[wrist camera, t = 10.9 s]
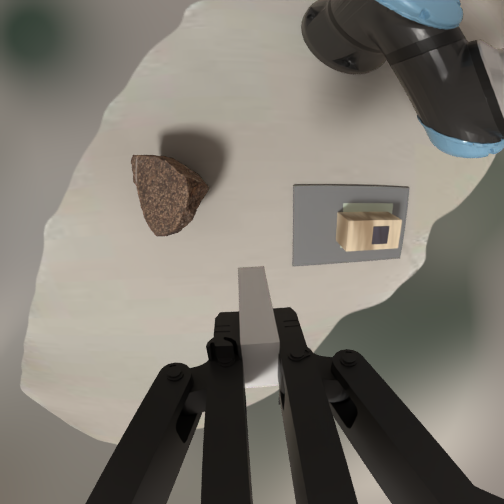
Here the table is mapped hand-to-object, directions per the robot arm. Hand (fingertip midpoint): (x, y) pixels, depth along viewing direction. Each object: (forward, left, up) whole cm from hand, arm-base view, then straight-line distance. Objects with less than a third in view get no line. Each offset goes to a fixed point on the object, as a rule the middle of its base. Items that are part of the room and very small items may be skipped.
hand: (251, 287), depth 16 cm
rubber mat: (-13, +15, -28) cm, 35 cm away
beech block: (-10, +13, -25) cm, 30 cm away
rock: (+7, -7, -29) cm, 30 cm away
